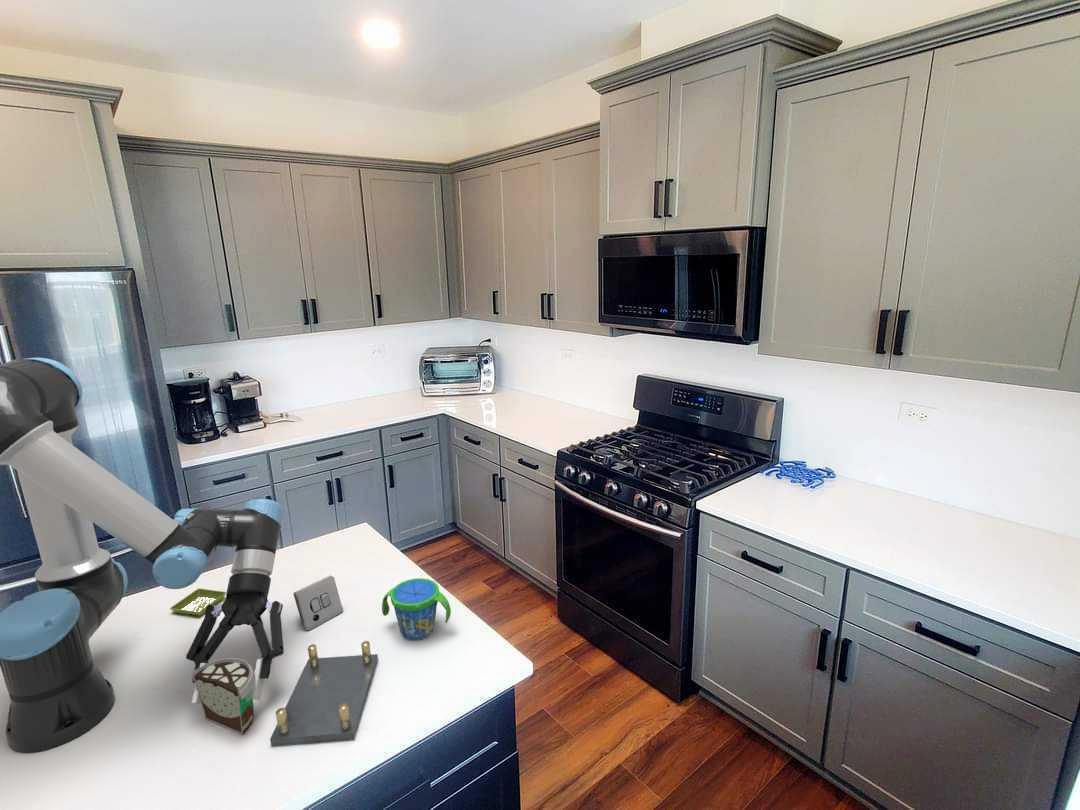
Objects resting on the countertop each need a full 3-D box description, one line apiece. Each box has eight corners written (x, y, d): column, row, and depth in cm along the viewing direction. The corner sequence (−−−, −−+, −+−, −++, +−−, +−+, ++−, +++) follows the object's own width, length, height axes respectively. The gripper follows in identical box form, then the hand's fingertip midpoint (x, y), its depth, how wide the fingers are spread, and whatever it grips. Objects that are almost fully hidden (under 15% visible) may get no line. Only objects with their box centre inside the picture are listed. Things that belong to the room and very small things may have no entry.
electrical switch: (307, 632, 125) (299, 595, 123) (295, 626, 128) (288, 589, 126) (344, 612, 132) (337, 576, 130) (332, 606, 135) (326, 571, 133)
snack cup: (459, 622, 127) (457, 583, 125) (438, 652, 117) (434, 610, 115) (400, 611, 132) (396, 573, 129) (374, 639, 122) (370, 598, 120)
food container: (276, 711, 103) (269, 666, 100) (248, 737, 97) (240, 690, 94) (229, 693, 107) (220, 649, 104) (199, 717, 102) (190, 671, 99)
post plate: (271, 746, 95) (266, 719, 94) (309, 664, 114) (306, 642, 113) (354, 739, 96) (350, 713, 95) (378, 660, 115) (375, 637, 114)
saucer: (170, 615, 132) (168, 608, 132) (199, 595, 141) (198, 587, 140) (200, 620, 130) (198, 612, 130) (228, 599, 139) (227, 591, 138)
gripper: (313, 577, 116) (296, 697, 104) (203, 583, 114) (173, 706, 103) (301, 567, 109) (281, 695, 98) (184, 574, 108) (151, 704, 96)
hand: (226, 701), depth 100 cm, fingers closed on food container, 9 cm apart
